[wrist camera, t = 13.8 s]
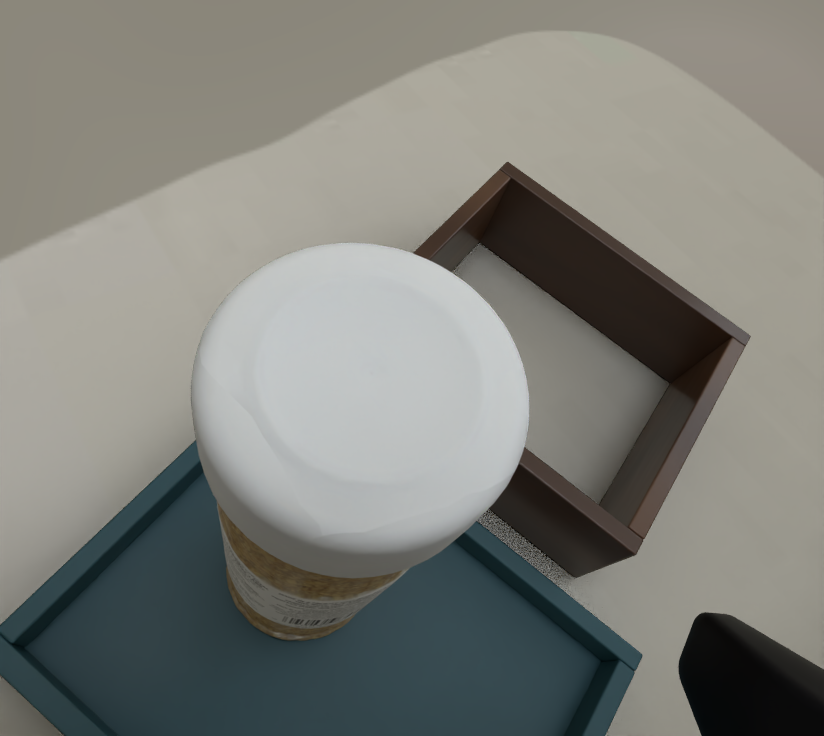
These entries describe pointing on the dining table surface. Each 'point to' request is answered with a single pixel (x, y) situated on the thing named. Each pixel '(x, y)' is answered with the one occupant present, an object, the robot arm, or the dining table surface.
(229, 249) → the dining table surface
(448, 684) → the tray
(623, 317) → the wooden box
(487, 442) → the sprinkles bottle
